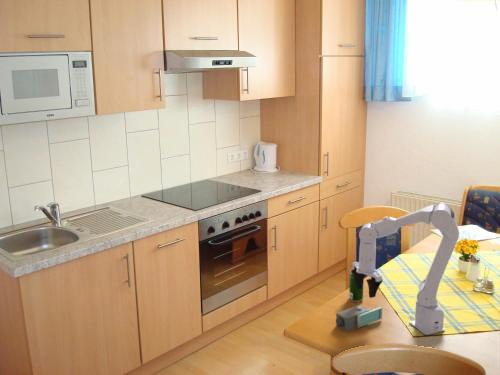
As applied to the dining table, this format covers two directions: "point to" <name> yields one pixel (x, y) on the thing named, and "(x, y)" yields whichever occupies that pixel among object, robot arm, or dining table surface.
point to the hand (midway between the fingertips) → (365, 292)
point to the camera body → (349, 317)
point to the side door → (369, 317)
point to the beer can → (355, 290)
